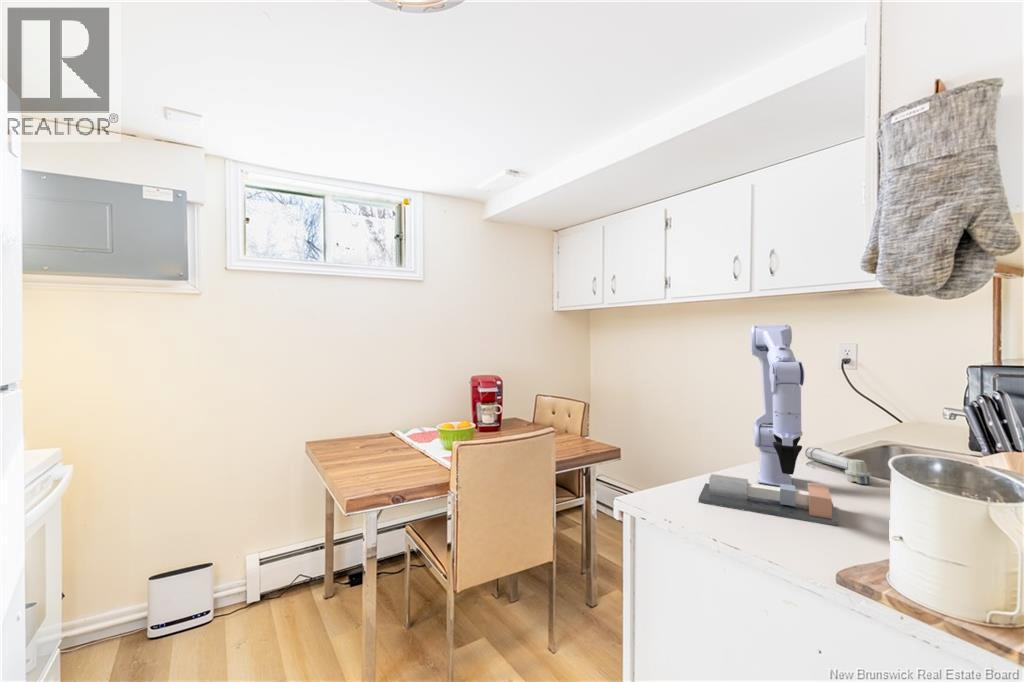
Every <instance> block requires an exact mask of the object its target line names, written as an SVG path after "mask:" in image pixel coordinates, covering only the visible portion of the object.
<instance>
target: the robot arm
mask: <svg viewBox="0 0 1024 682" xmlns="http://www.w3.org/2000/svg"><path fill="white" fill-rule="evenodd" d="M749 338H750V352H751V354H752V356H753V357H756V358H758V361H759V363H760V371H761V372H760V373H761V390H762V405H763V408H762V409H763V413H762V414H761V415H759V416H757V417H756V418H755V419H754V421H753V428H752V430H753V431H752V437H753V438H752V439H753V445H754V446H755V447H756V448H758V452H759V453H758V454H759V458H758V459H759V463H758V464H759V472H758V475H757V476H758V477H757V483H758V484H763V485H770V486H776V487H777V486H778V487H780V484H787V485H793V484H792V476H791V475H794V473H795V470H796V469H795V468H796V463H797V459H798V456H799V454H800V453H801V451H802V449H803V446H802V445H798V443H799V442H800V440H801V437H802V436H803V431H802V387H803V385H804V381H805V368H804V365H803V361H801V360H796V357H795V355H794V351H793V350H792V349H791V344H792V342H793V341H792V340H793V333H792V327H791V326H790V325H789V324H788V323H786V324H765V325H763V324H762V325H761V324H760V325H755V324H753V325H751V327H750V329H749Z"/></svg>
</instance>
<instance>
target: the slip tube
mask: <svg viewBox="0 0 1024 682" xmlns="http://www.w3.org/2000/svg"><path fill="white" fill-rule="evenodd" d="M747 496H751V497H757V498H763V499H770V500H776V501H780V504H784V505H790V506H795V504H802V505H808V506H809V492H807V491H805V490H797V489H796V486H795V485H794V484H792V485H787V484H780V486H779V487H777V486H776V487H775V486H771V485H770V486H768V485H764V484H763V485H761V484H755V483H749V482H748V484H747Z"/></svg>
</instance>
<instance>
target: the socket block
mask: <svg viewBox="0 0 1024 682" xmlns="http://www.w3.org/2000/svg"><path fill="white" fill-rule="evenodd" d="M806 486H807V490H806V492H809V506H808V507H809V514H810V515H812V516H818V517H824V518H830V519H832V503H833V500H832V497H831V493H830V490H829V486H828V485H827V484H819V483H813V482H807V483H806Z"/></svg>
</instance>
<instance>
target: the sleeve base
mask: <svg viewBox="0 0 1024 682" xmlns="http://www.w3.org/2000/svg"><path fill="white" fill-rule="evenodd" d="M708 480H709V481H708V483H704V485H703V488H702V490H701V492H700V494H699V496H698V503H700V502H704V503H703V504H706V503H709V504H708V505H712V504H716V505H715V506H718V505H722V506H721V507H724V506H727V507H726V508H730V507H733V508H732V509H735V508H738V509H737V510H741V509H744V511H747V510H749V512H753V511H754V512H753V513H759V514H760V513H761V514H765V515H769V516H771V515H772V516H778V517H783V518H790V519H796V520H800V521H805V522H812V523H818V524H824V525H830V526H834V527H835V526H836V527H839V520H838V517H837V513H836V510H835V506H834V503H833V502H832V519H830V518H824V517H818V516H812V515H810V514H809V507H808V505H802V504H795V506H790V505H784V504H780V501H776V500H770V499H763V498H757V497H751V496H747V484H748V483H749V479H748V478H742V477H736V476H735V477H734V476H727V475H719V474H713V473H712V474H710V476H709V479H708Z"/></svg>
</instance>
